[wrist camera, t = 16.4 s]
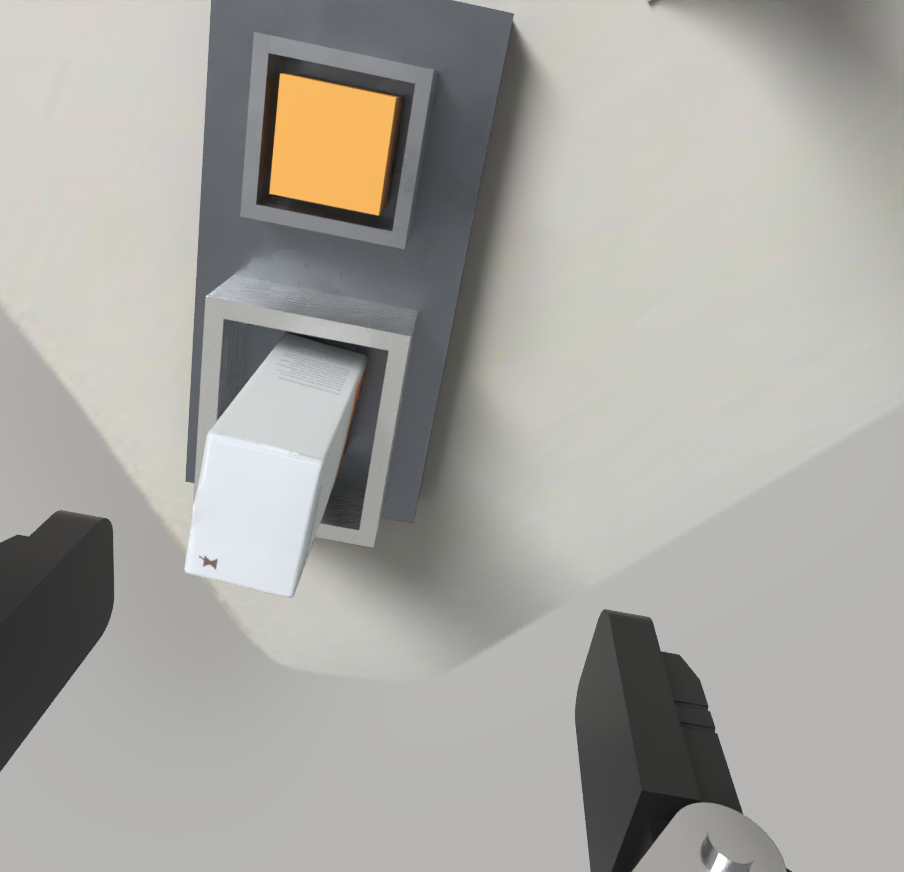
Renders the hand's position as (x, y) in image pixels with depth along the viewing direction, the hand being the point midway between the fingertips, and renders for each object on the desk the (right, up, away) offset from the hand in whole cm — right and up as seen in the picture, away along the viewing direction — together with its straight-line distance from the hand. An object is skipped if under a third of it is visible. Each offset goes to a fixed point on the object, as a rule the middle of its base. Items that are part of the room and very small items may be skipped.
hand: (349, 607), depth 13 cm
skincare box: (-5, +5, +26) cm, 27 cm away
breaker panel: (-4, +11, +25) cm, 28 cm away
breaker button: (-3, +15, +20) cm, 25 cm away
